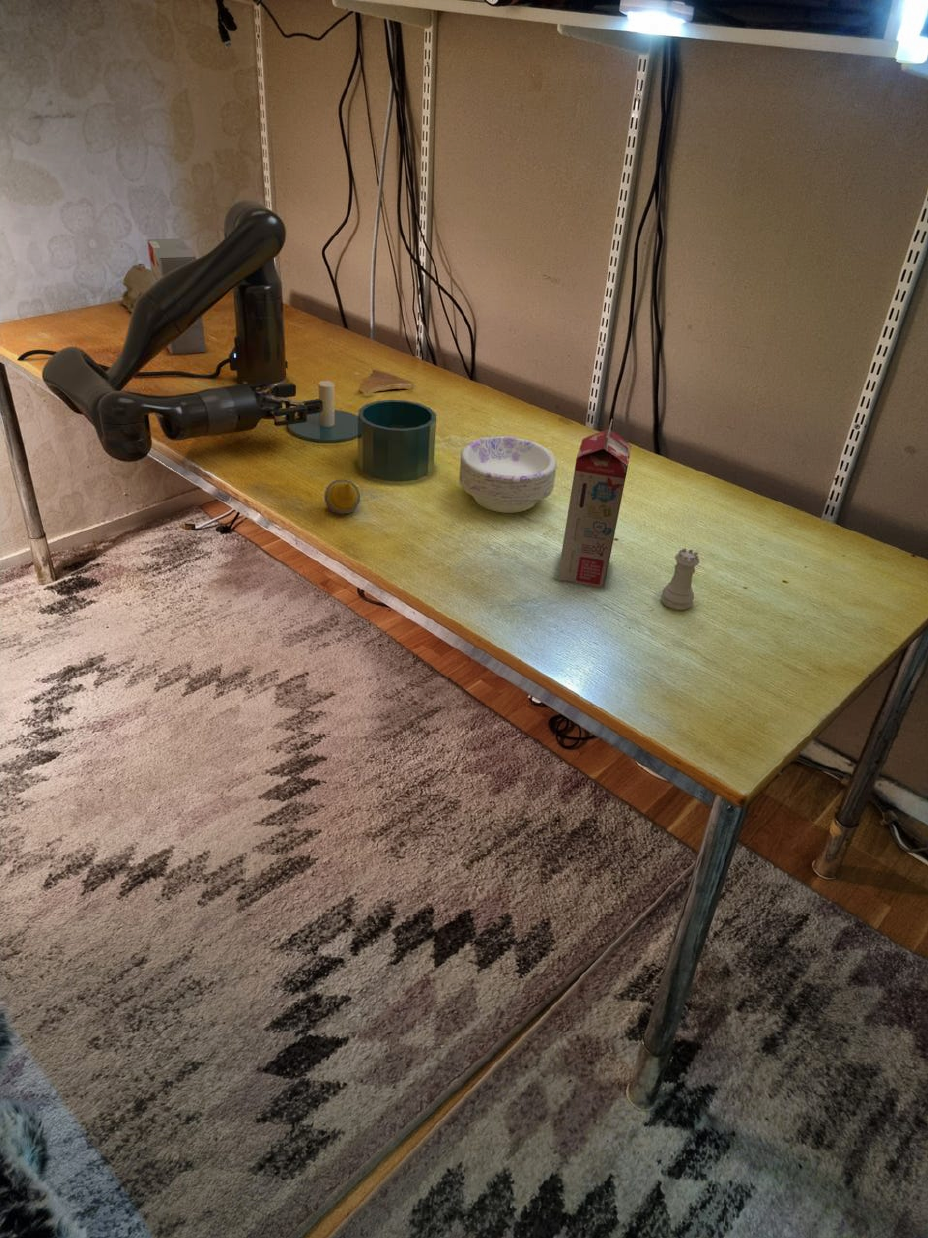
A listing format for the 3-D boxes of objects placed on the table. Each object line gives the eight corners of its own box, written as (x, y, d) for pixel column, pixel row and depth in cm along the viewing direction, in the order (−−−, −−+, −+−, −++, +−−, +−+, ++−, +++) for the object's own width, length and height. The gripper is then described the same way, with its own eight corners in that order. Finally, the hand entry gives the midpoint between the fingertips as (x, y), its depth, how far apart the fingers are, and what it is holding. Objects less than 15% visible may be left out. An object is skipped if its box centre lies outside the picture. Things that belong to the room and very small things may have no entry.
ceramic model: (183, 310, 210) (178, 267, 205) (140, 318, 203) (134, 273, 198) (151, 296, 218) (146, 254, 212) (109, 303, 211) (103, 260, 205)
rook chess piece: (656, 593, 122) (668, 544, 117) (686, 593, 122) (699, 544, 118) (664, 611, 118) (677, 561, 114) (696, 612, 119) (710, 562, 114)
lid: (283, 443, 153) (280, 395, 148) (293, 413, 164) (291, 367, 159) (363, 448, 154) (363, 400, 149) (367, 417, 165) (368, 372, 160)
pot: (355, 482, 143) (355, 427, 138) (360, 449, 153) (360, 397, 148) (433, 486, 144) (436, 432, 138) (433, 453, 154) (436, 402, 149)
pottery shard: (359, 397, 174) (359, 384, 172) (359, 380, 181) (359, 368, 180) (412, 398, 175) (412, 386, 174) (409, 381, 182) (409, 369, 181)
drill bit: (363, 504, 138) (374, 486, 128) (338, 526, 136) (347, 509, 127) (340, 479, 137) (349, 459, 128) (315, 500, 136) (322, 481, 126)
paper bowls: (491, 530, 133) (496, 483, 128) (440, 488, 143) (443, 444, 139) (569, 511, 140) (577, 466, 136) (515, 472, 150) (521, 429, 146)
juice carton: (608, 564, 127) (636, 422, 115) (603, 587, 122) (632, 441, 109) (563, 556, 128) (586, 414, 116) (557, 579, 123) (580, 433, 110)
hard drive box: (158, 332, 196) (146, 238, 185) (193, 330, 199) (183, 237, 187) (170, 355, 185) (158, 256, 173) (207, 352, 188) (197, 255, 176)
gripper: (204, 417, 150) (286, 404, 159) (245, 447, 141) (330, 431, 151) (202, 374, 146) (286, 363, 155) (244, 402, 137) (331, 389, 147)
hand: (308, 397), depth 153 cm, fingers open, 8 cm apart
